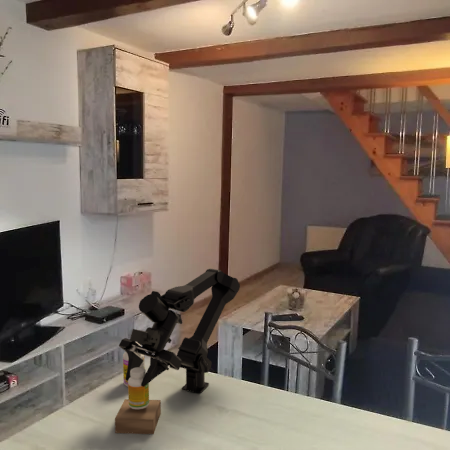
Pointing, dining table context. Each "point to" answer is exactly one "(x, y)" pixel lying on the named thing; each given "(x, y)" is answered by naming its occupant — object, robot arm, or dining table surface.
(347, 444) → the dining table surface
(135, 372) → the supplement bottle
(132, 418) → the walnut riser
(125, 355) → the supplement bottle
